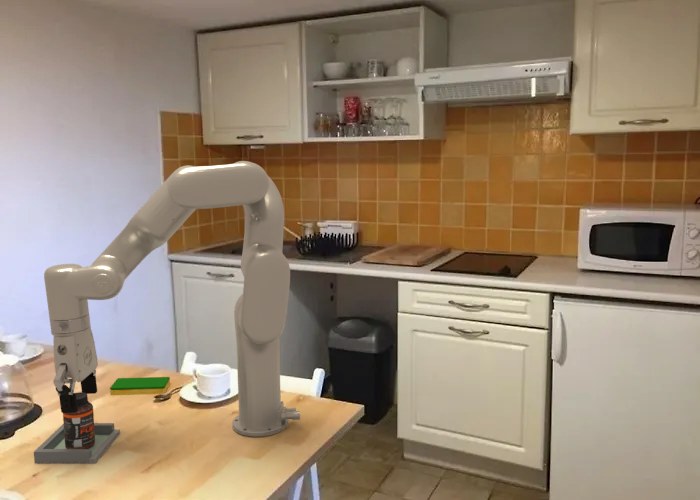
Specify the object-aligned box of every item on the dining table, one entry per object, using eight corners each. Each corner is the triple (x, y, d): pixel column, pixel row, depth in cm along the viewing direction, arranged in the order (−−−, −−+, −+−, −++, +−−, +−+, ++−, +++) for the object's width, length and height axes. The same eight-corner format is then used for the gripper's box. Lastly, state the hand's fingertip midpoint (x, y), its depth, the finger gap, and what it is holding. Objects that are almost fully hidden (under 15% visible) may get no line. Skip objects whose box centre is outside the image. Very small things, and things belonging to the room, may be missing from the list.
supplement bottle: (84, 453, 132) (81, 402, 130) (59, 451, 133) (55, 400, 131) (101, 440, 138) (97, 391, 136) (76, 438, 139) (72, 389, 137)
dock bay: (120, 433, 142) (119, 423, 141) (95, 463, 128) (94, 451, 128) (64, 433, 142) (63, 423, 141) (34, 463, 128) (33, 451, 128)
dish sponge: (118, 386, 171) (117, 377, 170) (170, 384, 172) (169, 376, 171) (110, 396, 164) (109, 387, 163) (164, 395, 165) (164, 386, 164)
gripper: (69, 336, 122) (80, 419, 125) (105, 312, 139) (113, 386, 142) (31, 337, 122) (42, 421, 125) (71, 313, 139) (80, 387, 142)
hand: (80, 402), depth 134 cm, fingers open, 9 cm apart
